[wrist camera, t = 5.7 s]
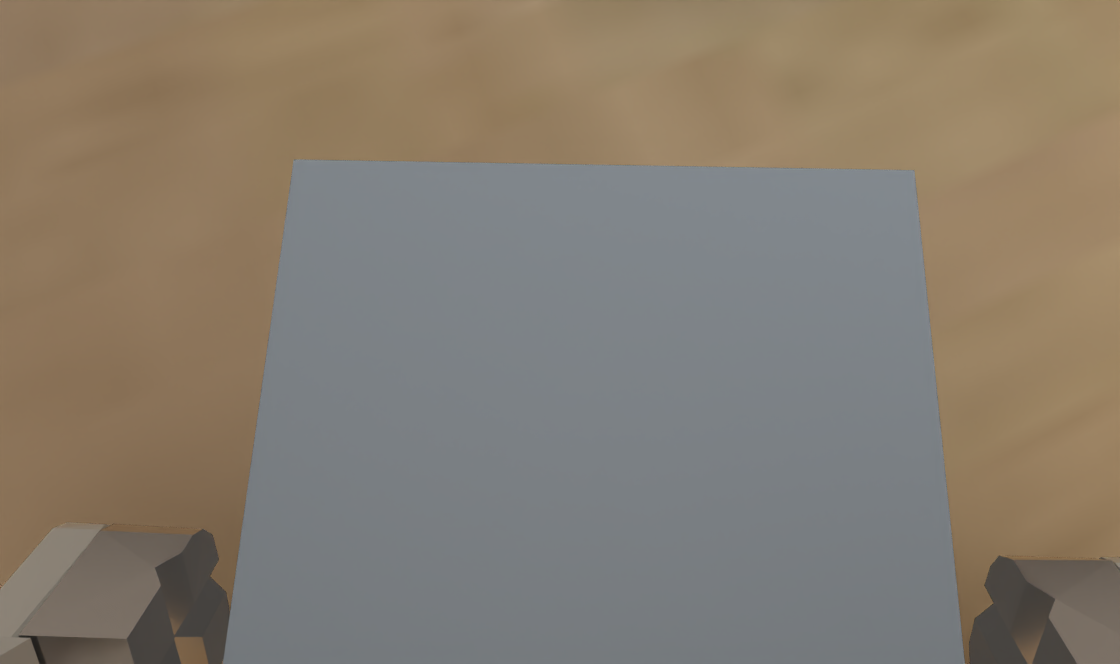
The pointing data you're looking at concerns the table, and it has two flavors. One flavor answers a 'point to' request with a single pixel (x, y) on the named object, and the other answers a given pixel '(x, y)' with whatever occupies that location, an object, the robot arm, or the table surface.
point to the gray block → (597, 421)
